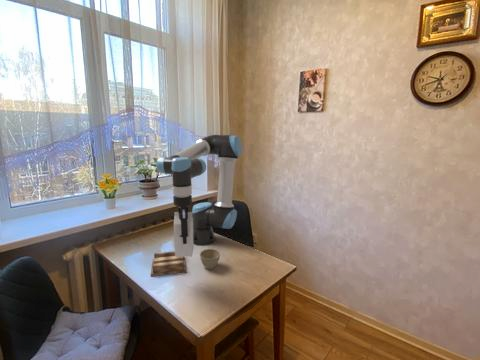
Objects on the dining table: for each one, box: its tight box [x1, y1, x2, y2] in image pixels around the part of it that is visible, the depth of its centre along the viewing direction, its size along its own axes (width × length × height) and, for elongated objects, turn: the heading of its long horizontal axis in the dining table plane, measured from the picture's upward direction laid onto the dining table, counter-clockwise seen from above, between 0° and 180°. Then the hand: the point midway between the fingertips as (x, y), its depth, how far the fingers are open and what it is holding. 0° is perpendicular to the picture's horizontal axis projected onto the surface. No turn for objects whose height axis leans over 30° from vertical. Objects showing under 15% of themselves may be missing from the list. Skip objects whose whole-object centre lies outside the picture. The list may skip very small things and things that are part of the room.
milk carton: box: [173, 211, 195, 258], centre depth 107 cm, size 7×7×19 cm
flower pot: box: [199, 248, 221, 270], centre depth 123 cm, size 10×10×7 cm
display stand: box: [150, 250, 187, 277], centre depth 123 cm, size 16×14×4 cm
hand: (184, 245), depth 108 cm, fingers closed on milk carton, 8 cm apart
